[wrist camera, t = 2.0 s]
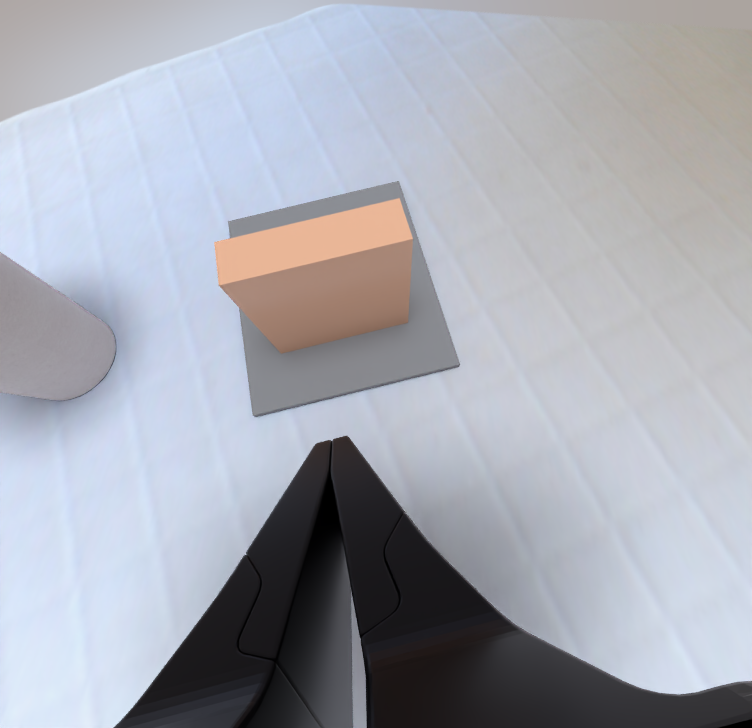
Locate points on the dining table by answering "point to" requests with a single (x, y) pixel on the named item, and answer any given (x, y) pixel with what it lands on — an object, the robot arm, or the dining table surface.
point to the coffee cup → (48, 339)
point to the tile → (322, 275)
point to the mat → (352, 354)
